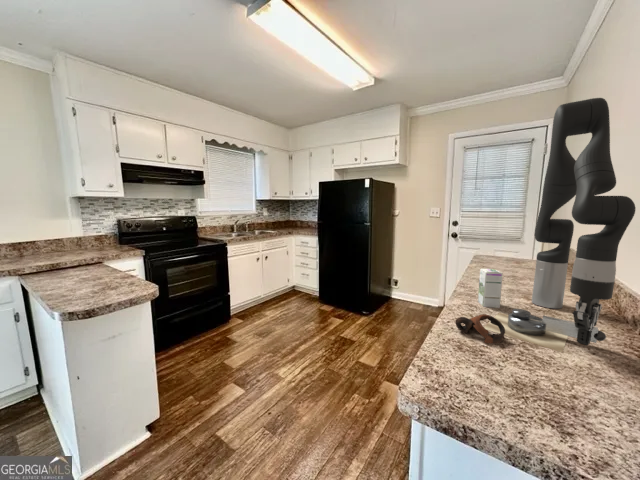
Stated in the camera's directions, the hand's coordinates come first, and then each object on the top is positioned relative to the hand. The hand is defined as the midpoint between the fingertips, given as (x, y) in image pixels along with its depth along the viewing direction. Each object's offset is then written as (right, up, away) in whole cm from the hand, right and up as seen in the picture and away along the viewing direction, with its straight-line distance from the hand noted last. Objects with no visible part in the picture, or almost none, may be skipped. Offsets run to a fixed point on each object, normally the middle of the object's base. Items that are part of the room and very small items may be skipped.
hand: (583, 343), depth 69 cm
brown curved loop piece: (-22, -2, +8) cm, 24 cm away
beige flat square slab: (-6, -2, +11) cm, 13 cm away
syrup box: (-5, +1, +31) cm, 32 cm away
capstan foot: (-2, 0, +7) cm, 7 cm away
